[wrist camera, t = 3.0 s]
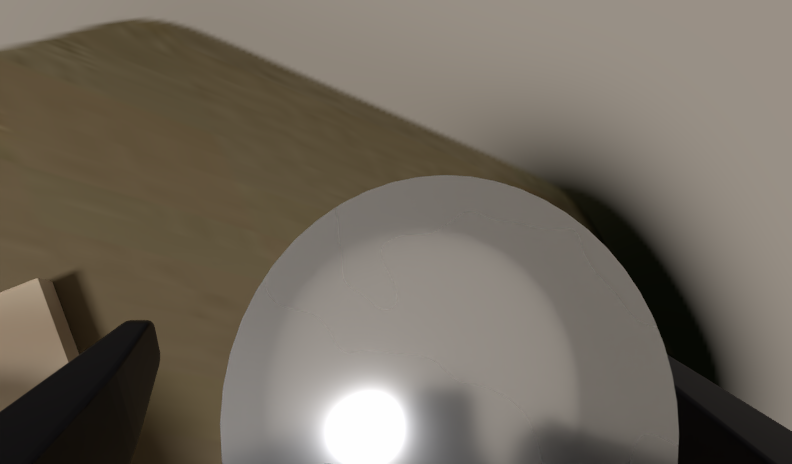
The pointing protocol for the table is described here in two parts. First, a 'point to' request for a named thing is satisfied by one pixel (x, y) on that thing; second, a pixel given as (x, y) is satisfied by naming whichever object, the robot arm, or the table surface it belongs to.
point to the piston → (448, 340)
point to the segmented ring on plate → (31, 338)
